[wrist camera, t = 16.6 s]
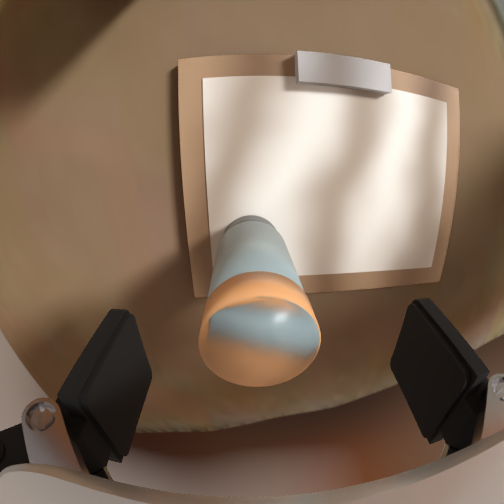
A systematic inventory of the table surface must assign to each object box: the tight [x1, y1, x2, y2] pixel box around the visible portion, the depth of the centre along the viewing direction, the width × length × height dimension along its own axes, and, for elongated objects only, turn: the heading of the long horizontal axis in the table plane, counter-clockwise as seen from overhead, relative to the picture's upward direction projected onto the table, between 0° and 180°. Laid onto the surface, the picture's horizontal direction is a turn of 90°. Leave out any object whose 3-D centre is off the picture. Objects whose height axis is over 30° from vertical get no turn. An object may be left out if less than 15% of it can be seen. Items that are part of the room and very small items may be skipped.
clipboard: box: [178, 51, 460, 298], centre depth 17 cm, size 20×16×2 cm
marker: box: [198, 215, 321, 387], centre depth 14 cm, size 4×4×10 cm
